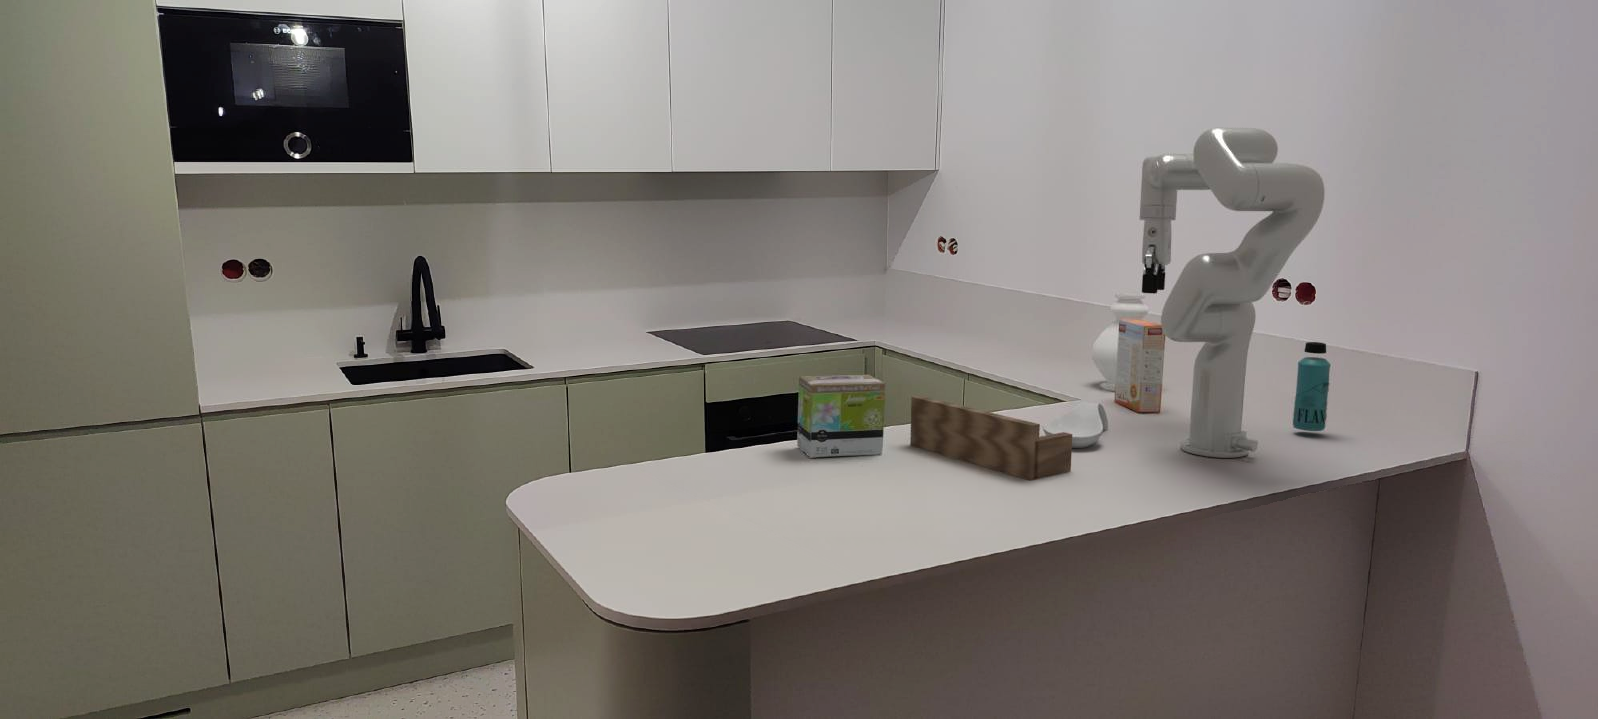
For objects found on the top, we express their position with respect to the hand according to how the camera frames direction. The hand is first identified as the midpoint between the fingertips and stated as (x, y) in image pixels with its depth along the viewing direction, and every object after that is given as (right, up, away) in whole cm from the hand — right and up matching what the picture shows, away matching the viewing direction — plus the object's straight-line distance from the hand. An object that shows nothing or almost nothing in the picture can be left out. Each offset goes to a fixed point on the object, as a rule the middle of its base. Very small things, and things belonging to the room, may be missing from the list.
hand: (1153, 291), depth 229 cm
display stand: (-42, -34, -29) cm, 61 cm away
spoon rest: (-20, -32, -13) cm, 40 cm away
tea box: (-70, -34, -24) cm, 82 cm away
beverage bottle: (+31, -31, -8) cm, 45 cm away
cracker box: (+3, -27, +20) cm, 34 cm away
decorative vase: (+8, -23, +46) cm, 52 cm away
